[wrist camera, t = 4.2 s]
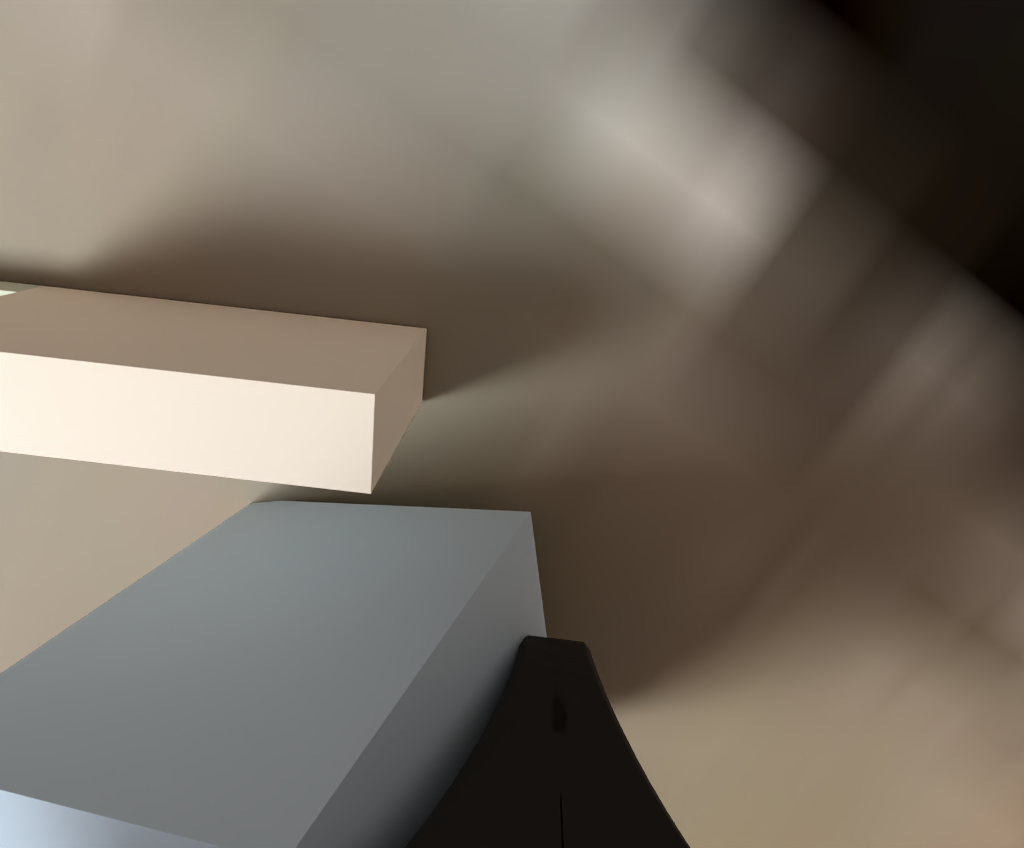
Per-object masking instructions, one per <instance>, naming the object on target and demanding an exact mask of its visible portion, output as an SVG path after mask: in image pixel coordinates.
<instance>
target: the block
mask: <svg viewBox="0 0 1024 848" xmlns="http://www.w3.org/2000/svg"><path fill="white" fill-rule="evenodd" d="M528 635H531V636H539V637H547V634H546V626H545V619H544V611H543V603H542V595H541V588H540V580H539V572H538V564H537V557H536V549H535V541H534V533H533V526H532V518H531V512H525V511H502V510H480V509H457V508H435V507H412V506H390V505H367V504H345V503H322V502H300V501H270V502H260V503H251V504H249V505H248V506H246V507H245V508H243V509H242V510H240V511H239V512H237V513H236V514H234V515H233V516H232V517H230V518H229V519H227V520H226V521H224V522H223V523H221V524H220V525H218V526H217V527H215V528H214V529H212V530H211V531H210V532H208V533H207V534H205V535H204V536H202V537H201V538H199V539H198V540H196V541H195V542H193V543H192V544H190V545H189V546H187V547H186V548H185V549H183V550H182V551H180V552H179V553H177V554H176V555H174V556H173V557H171V558H170V559H168V560H167V561H165V562H164V563H162V564H161V565H160V566H158V567H157V568H155V569H154V570H152V571H151V572H149V573H148V574H146V575H145V576H143V577H142V578H140V579H139V580H138V581H136V582H135V583H133V584H132V585H130V586H129V587H127V588H126V589H124V590H123V591H121V592H120V593H118V594H117V595H115V596H114V597H113V598H111V599H110V600H108V601H107V602H105V603H104V604H102V605H101V606H99V607H98V608H96V609H95V610H93V611H92V612H90V613H89V614H88V615H86V616H85V617H83V618H82V619H80V620H79V621H77V622H76V623H74V624H73V625H71V626H70V627H68V628H67V629H66V630H64V631H63V632H61V633H60V634H58V635H57V636H55V637H54V638H52V639H51V640H49V641H48V642H46V643H45V644H43V645H42V646H41V647H39V648H38V649H36V650H35V651H33V652H32V653H30V654H29V655H27V656H26V657H24V658H23V659H21V660H20V661H18V662H17V663H16V664H14V665H13V666H11V667H10V668H8V669H7V670H5V671H4V672H2V673H1V674H0V848H405V847H406V845H407V844H408V843H409V842H410V840H411V839H412V838H413V837H414V835H415V834H416V833H417V832H418V830H419V829H420V828H421V826H422V825H423V824H424V822H425V821H426V819H427V818H428V817H429V815H430V814H431V813H432V811H433V810H434V809H435V807H436V806H437V804H438V803H439V802H440V800H441V799H442V797H443V796H444V794H445V793H446V791H447V790H448V789H449V787H450V786H451V784H452V783H453V781H454V780H455V778H456V777H457V775H458V773H459V772H460V770H461V768H462V767H463V765H464V763H465V762H466V760H467V759H468V757H469V755H470V754H471V752H472V750H473V749H474V747H475V745H476V744H477V742H478V740H479V739H480V737H481V735H482V733H483V732H484V730H485V728H486V726H487V724H488V722H489V720H490V718H491V716H492V714H493V712H494V710H495V708H496V706H497V704H498V702H499V700H500V698H501V696H502V694H503V692H504V689H505V687H506V685H507V682H508V680H509V678H510V675H511V673H512V670H513V667H514V664H515V661H516V657H517V654H518V649H519V645H520V644H521V642H522V641H523V639H524V638H525V637H526V636H528Z"/></svg>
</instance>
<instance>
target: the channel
mask: <svg viewBox="0 0 1024 848" xmlns="http://www.w3.org/2000/svg"><path fill="white" fill-rule="evenodd" d="M426 333H427V329H426V328H417V327H408V326H399V325H390V324H381V323H372V322H363V321H354V320H345V319H336V318H327V317H318V316H309V315H300V314H291V313H282V312H273V311H264V310H255V309H246V308H237V307H228V306H219V305H210V304H201V303H192V302H183V301H174V300H165V299H156V298H147V297H138V296H129V295H120V294H111V293H102V292H94V291H85V290H76V289H67V288H58V287H49V286H40V285H31V284H22V283H13V282H4V281H0V451H3V452H12V453H20V454H29V455H38V456H46V457H55V458H64V459H72V460H81V461H90V462H98V463H107V464H116V465H124V466H133V467H142V468H150V469H159V470H168V471H176V472H185V473H194V474H202V475H211V476H220V477H228V478H237V479H246V480H254V481H263V482H272V483H280V484H289V485H298V486H306V487H315V488H324V489H332V490H341V491H350V492H358V493H367V494H371V493H372V491H373V489H374V487H375V485H376V484H377V482H378V480H379V478H380V477H381V475H382V473H383V471H384V469H385V468H386V466H387V464H388V462H389V461H390V459H391V457H392V455H393V453H394V452H395V450H396V448H397V446H398V444H399V443H400V441H401V439H402V437H403V436H404V434H405V432H406V430H407V428H408V427H409V425H410V423H411V421H412V420H413V418H414V416H415V414H416V412H417V411H418V409H419V407H420V405H421V404H422V396H423V380H424V364H425V349H426Z"/></svg>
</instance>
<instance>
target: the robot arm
mask: <svg viewBox="0 0 1024 848" xmlns="http://www.w3.org/2000/svg"><path fill="white" fill-rule="evenodd" d="M405 848H690V847H689V845H688V844H687V842H686V841H685V839H684V837H683V836H682V834H681V833H680V831H679V830H678V828H677V827H676V825H675V823H674V822H673V820H672V819H671V817H670V815H669V814H668V812H667V811H666V809H665V807H664V805H663V804H662V802H661V800H660V799H659V797H658V795H657V794H656V792H655V790H654V788H653V787H652V785H651V783H650V782H649V780H648V778H647V776H646V774H645V772H644V771H643V769H642V767H641V765H640V763H639V762H638V760H637V758H636V756H635V754H634V752H633V750H632V748H631V746H630V744H629V742H628V740H627V738H626V736H625V734H624V732H623V730H622V728H621V726H620V724H619V722H618V720H617V718H616V715H615V713H614V711H613V709H612V707H611V704H610V702H609V700H608V697H607V695H606V693H605V691H604V688H603V686H602V683H601V681H600V678H599V676H598V673H597V670H596V668H595V665H594V662H593V659H592V656H591V653H590V650H589V648H588V647H587V646H586V645H585V643H584V642H578V641H570V640H562V639H555V638H547V637H539V636H531V635H528V636H526V637H525V638H524V639H523V641H522V642H521V644H520V645H519V649H518V654H517V657H516V661H515V664H514V667H513V670H512V673H511V675H510V678H509V680H508V682H507V685H506V687H505V689H504V692H503V694H502V696H501V698H500V700H499V702H498V704H497V706H496V708H495V710H494V712H493V714H492V716H491V718H490V720H489V722H488V724H487V726H486V728H485V730H484V732H483V733H482V735H481V737H480V739H479V740H478V742H477V744H476V745H475V747H474V749H473V750H472V752H471V754H470V755H469V757H468V759H467V760H466V762H465V763H464V765H463V767H462V768H461V770H460V772H459V773H458V775H457V777H456V778H455V780H454V781H453V783H452V784H451V786H450V787H449V789H448V790H447V791H446V793H445V794H444V796H443V797H442V799H441V800H440V802H439V803H438V804H437V806H436V807H435V809H434V810H433V811H432V813H431V814H430V815H429V817H428V818H427V819H426V821H425V822H424V824H423V825H422V826H421V828H420V829H419V830H418V832H417V833H416V834H415V835H414V837H413V838H412V839H411V840H410V842H409V843H408V844H407V845H406V847H405Z"/></svg>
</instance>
